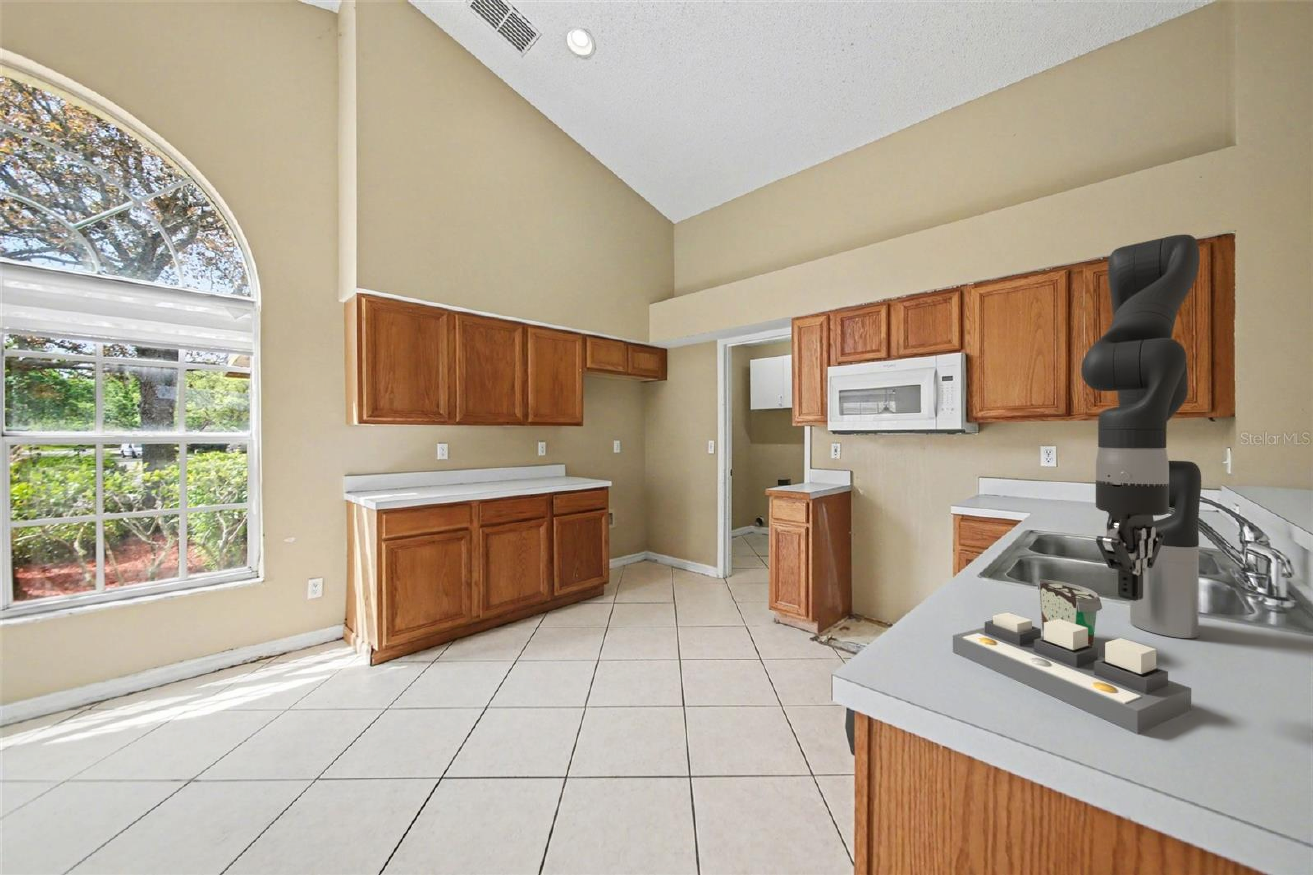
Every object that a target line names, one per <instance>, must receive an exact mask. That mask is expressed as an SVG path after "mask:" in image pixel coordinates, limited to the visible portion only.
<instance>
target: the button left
mask: <svg viewBox="0 0 1313 875" xmlns="http://www.w3.org/2000/svg"><path fill="white" fill-rule="evenodd" d="M992 620H993V624H995V625H998V626H1001V627H1003V628H1006V629H1009V630H1012V631H1015V632H1017V633H1020V632H1024V631H1027V630H1031V629H1032V626H1033V620H1032V619H1029V618H1025V617H1023V616H1019V615H1016V614H1013V613H1010V612H1004V613H1000V614H995V615H993V616H992Z"/></svg>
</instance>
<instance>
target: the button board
mask: <svg viewBox="0 0 1313 875" xmlns="http://www.w3.org/2000/svg"><path fill="white" fill-rule="evenodd" d="M952 652H953V653H954V654H956V655H959V656H961V657H963V658H966V659H967V660H970V661H972V662H974V663H976V664H979V665H981V666H983V667H986V668H988V669H990V670H993V671H994V672H997V673H999V674H1001V675H1004V676H1006V677H1008V678H1011V679H1013V680H1015V681H1016V682H1019V683H1021V684H1024V685H1026V686H1028V687H1031V688H1032V689H1035V690H1037V691H1040V692H1042V693H1043V694H1044V693H1045V694H1047V695H1049V696H1051V697H1053V698H1056V699H1058V700H1061V701H1062V702H1065V703H1067V704H1070V705H1071V706H1074V707H1075V708H1078V709H1080V710H1082V711H1085V712H1087V713H1089V714H1091V715H1094V716H1096V717H1097V718H1100V719H1102V720H1105V721H1107V722H1110V723H1112V724H1114V725H1117V726H1118V727H1121V728H1123V729H1125V730H1128V731H1129V732H1132V733H1134V734H1136V735H1138V734H1141V733H1143V732H1145V731H1147V730H1150V729H1151V728H1154V727H1156V726H1158V725H1160V724H1162V723H1164V722H1167V721H1169V720H1171V719H1173V718H1176V717H1178V716H1180V715H1183V714H1184V713H1186V712H1189V711H1191V710H1192V688H1191V687H1189V686H1187V685H1184V684H1181V683H1177V682H1174V681H1173V680H1169V671H1167V670H1164V669H1162V668H1159V667H1156V669H1154V670H1151V671H1148V672H1146V673H1143V674H1139V673H1136V672H1133V671H1131V670H1128V669H1125V668H1122V667H1119V666H1116V665H1114V664H1111V663H1108V662H1105V657H1102V656H1099V648H1098V647H1095V646H1090V645H1088V646H1085V647H1082V648H1078V649H1075V650H1071V649H1068V648H1066V647H1063V646H1060V645H1057V644H1054V643H1052V642H1049V641H1046V640H1044V635H1042V628H1040V627H1036V626H1034V625H1032V629H1031V630H1027V631H1024V632H1020V633H1017V632H1015V631H1012V630H1009V629H1006V628H1003V627H1001V626H998V625H995V624H993V619H992V620H987V621H985V622H984V627H981V628H977V629H973V630H969V631H965V632H961V633H956V634H953V635H952Z"/></svg>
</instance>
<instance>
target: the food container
mask: <svg viewBox="0 0 1313 875" xmlns="http://www.w3.org/2000/svg"><path fill="white" fill-rule="evenodd" d="M1037 590H1039V602H1040V603H1039V606H1040V618H1041V619H1040V621H1041V633H1043V632H1044V623H1045V622H1049V621H1052V620H1056V619H1061V620H1064V621H1067V622H1070V623H1074V624H1077V625H1080V626H1083V627H1086V628H1088V645H1090V646H1093V645H1094V639H1095V638H1094V637H1095V631H1096V630H1095V629H1096V623H1097V622H1096V620H1097V614H1098V612H1099V611H1101V610H1103V605H1102V601H1101V598H1100V596H1099V594H1098V593H1097V592H1095V591H1094V590H1092V589H1091V588H1087V587H1085V586H1081V585H1078V584H1073V583H1069V582H1066V581H1065V582H1064V581H1058V580H1052V579H1051V580H1050V579H1038V582H1037ZM1093 647H1094V646H1093Z"/></svg>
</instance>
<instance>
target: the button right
mask: <svg viewBox="0 0 1313 875" xmlns="http://www.w3.org/2000/svg"><path fill="white" fill-rule="evenodd" d="M1104 647H1105V651H1104V652H1105V654H1104V656H1105V657H1104V658H1105V662H1108V663H1111V664H1114V665H1116V666H1119V667H1122V668H1125V669H1128V670H1131V671H1133V672H1136V673H1139V674H1143V673H1146V672H1148V671H1151V670H1154V669H1156V668H1157V648H1154V647H1152V646H1147V645H1144V644H1141V643H1138V642H1134V641H1131V640H1128V639H1124V638H1121V637H1120V638H1116V639H1112V640H1110V641H1106V642H1105V644H1104Z"/></svg>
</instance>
